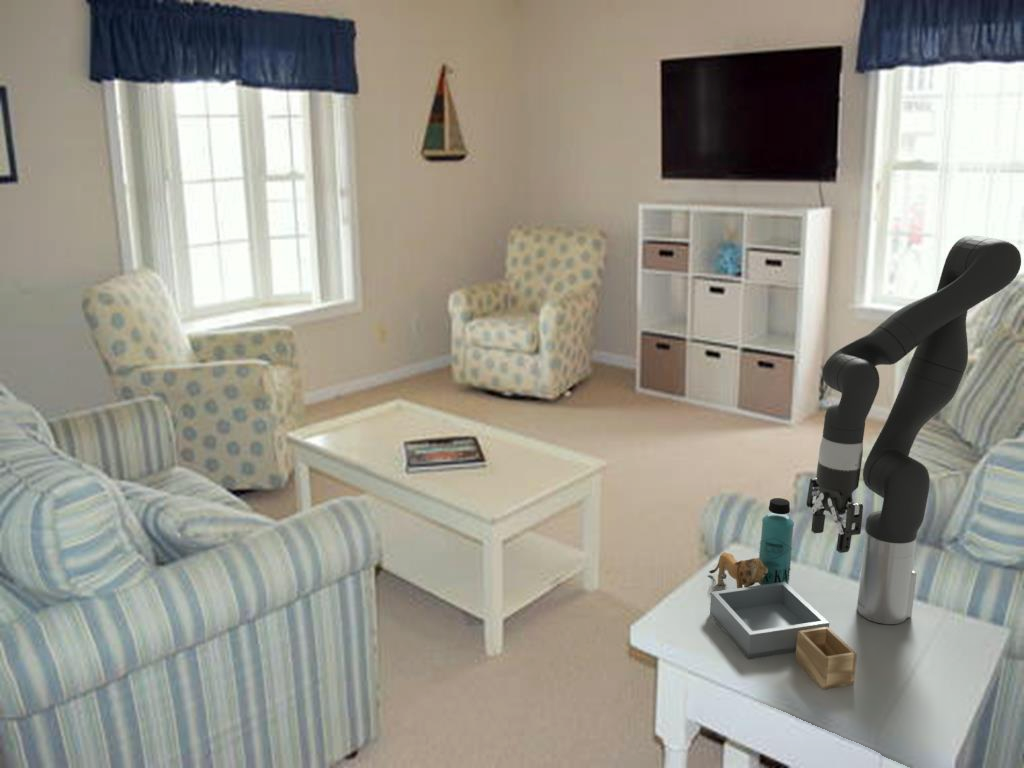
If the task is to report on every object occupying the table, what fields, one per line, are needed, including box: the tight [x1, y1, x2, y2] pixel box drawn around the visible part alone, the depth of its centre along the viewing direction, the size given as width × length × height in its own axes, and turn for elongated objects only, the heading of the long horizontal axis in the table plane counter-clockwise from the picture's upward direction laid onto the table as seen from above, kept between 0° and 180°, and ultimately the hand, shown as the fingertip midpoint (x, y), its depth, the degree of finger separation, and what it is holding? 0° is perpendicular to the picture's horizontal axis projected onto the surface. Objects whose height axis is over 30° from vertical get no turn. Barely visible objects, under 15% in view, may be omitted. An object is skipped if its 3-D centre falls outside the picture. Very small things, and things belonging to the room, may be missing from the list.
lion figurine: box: [708, 551, 768, 588], centre depth 190 cm, size 15×5×9 cm, turn 34°
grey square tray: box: [709, 582, 830, 660], centre depth 175 cm, size 16×16×5 cm
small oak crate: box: [795, 626, 858, 690], centre depth 161 cm, size 6×9×6 cm, turn 13°
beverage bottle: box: [757, 497, 795, 585], centre depth 188 cm, size 6×7×20 cm
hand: (829, 541), depth 173 cm, fingers open, 8 cm apart
